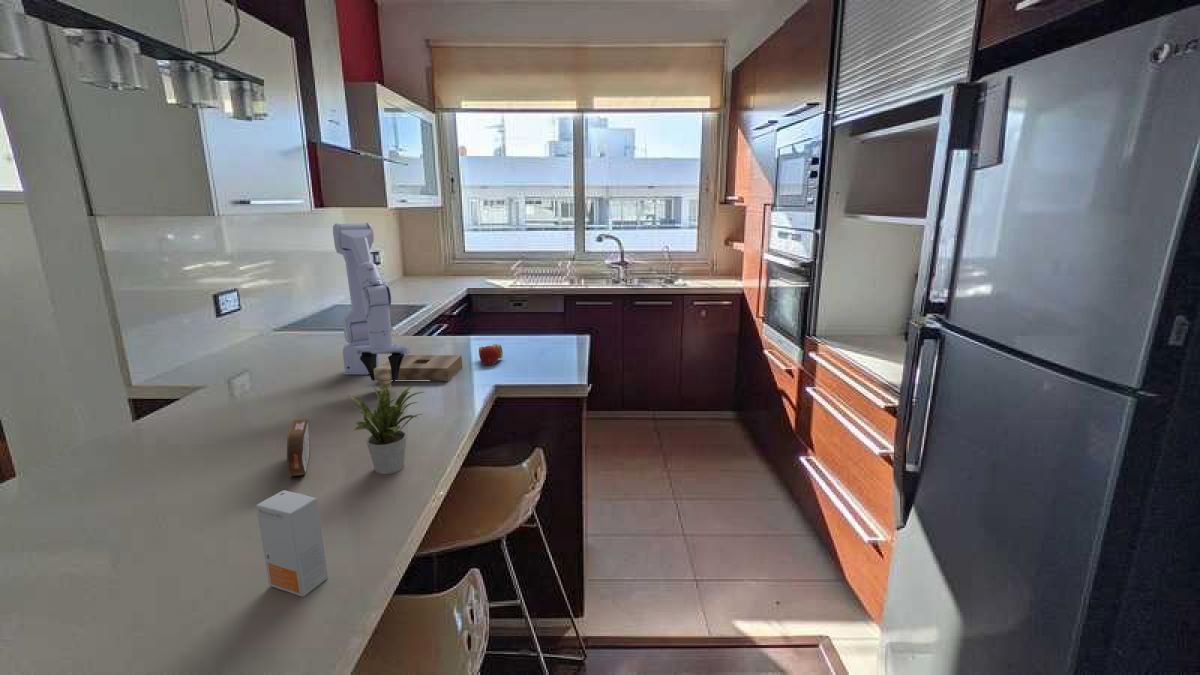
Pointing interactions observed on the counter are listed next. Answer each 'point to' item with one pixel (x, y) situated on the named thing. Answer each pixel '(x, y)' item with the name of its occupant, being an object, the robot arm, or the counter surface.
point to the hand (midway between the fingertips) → (384, 379)
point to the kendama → (490, 354)
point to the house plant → (386, 431)
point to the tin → (298, 447)
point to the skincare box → (292, 542)
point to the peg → (383, 376)
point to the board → (428, 367)
